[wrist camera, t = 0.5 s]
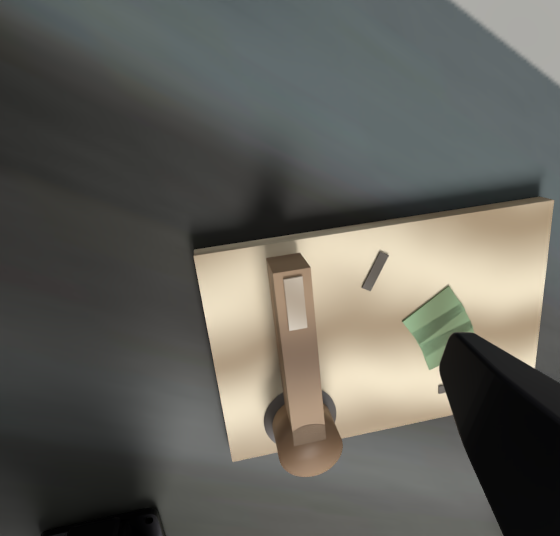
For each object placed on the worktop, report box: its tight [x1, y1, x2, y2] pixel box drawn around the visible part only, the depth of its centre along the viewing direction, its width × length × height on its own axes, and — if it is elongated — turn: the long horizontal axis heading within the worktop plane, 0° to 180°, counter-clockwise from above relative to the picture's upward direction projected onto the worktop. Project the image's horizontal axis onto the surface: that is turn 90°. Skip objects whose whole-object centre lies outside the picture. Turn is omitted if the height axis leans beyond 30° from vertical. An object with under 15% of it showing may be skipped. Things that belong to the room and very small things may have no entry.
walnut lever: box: [266, 253, 343, 477], centre depth 21 cm, size 11×3×2 cm, turn 6°
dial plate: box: [194, 197, 554, 462], centre depth 23 cm, size 12×18×1 cm, turn 96°
